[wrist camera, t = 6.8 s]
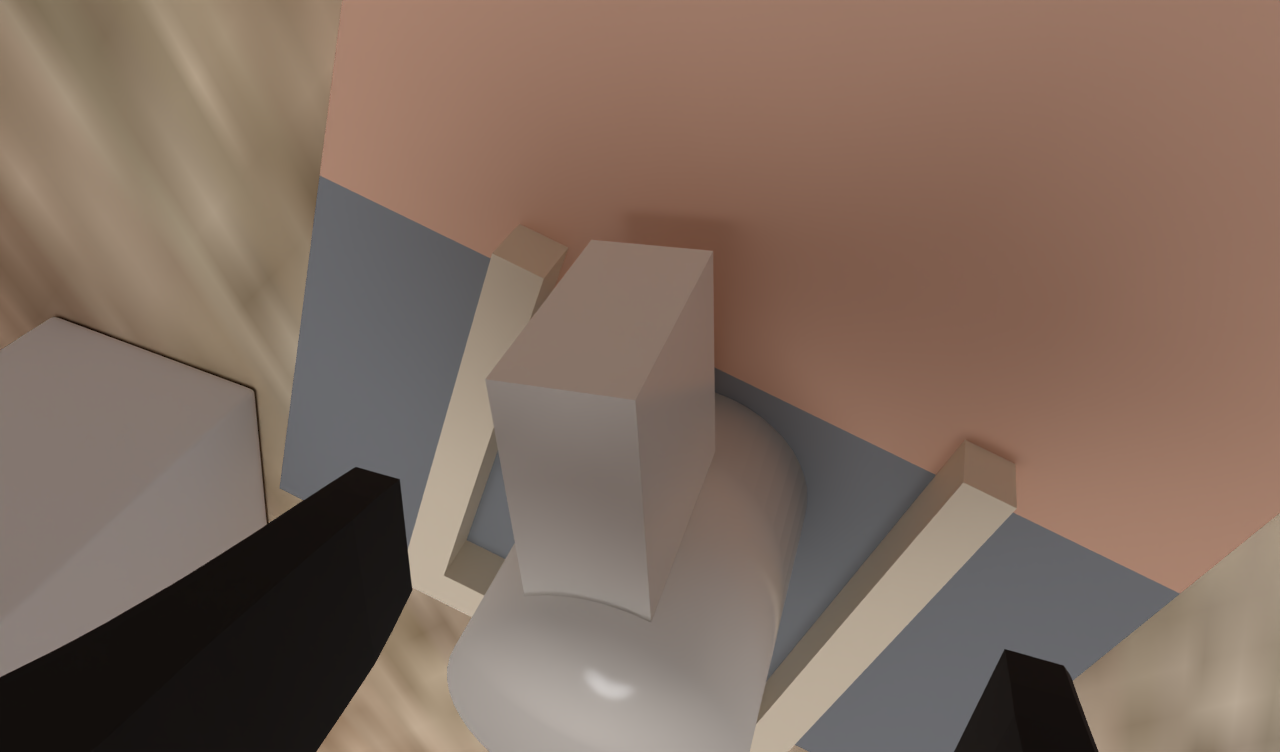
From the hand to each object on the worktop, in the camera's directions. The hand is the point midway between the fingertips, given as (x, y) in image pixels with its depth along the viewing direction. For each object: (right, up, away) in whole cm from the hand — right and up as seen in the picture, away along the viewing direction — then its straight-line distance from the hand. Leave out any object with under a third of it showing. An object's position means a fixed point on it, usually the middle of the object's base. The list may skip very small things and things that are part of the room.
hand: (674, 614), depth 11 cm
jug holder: (+2, +3, +7) cm, 8 cm away
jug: (+1, +2, +8) cm, 8 cm away
